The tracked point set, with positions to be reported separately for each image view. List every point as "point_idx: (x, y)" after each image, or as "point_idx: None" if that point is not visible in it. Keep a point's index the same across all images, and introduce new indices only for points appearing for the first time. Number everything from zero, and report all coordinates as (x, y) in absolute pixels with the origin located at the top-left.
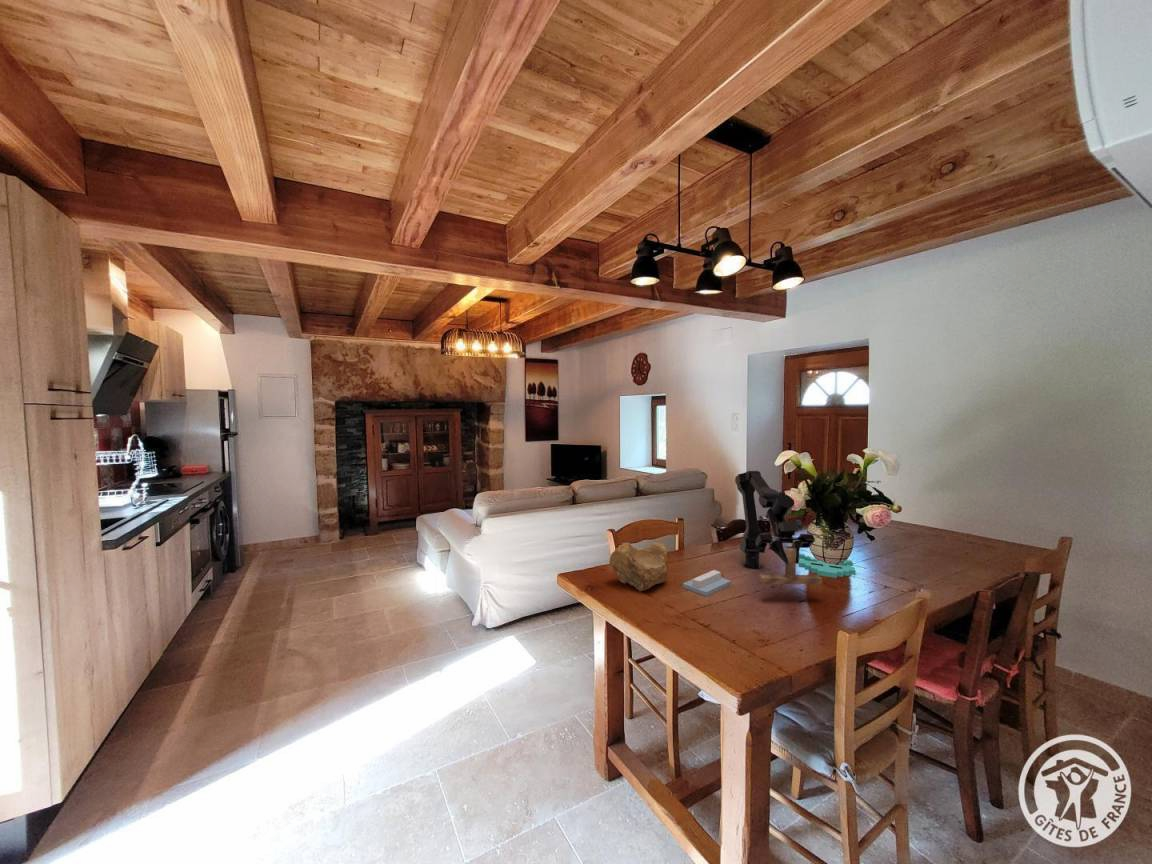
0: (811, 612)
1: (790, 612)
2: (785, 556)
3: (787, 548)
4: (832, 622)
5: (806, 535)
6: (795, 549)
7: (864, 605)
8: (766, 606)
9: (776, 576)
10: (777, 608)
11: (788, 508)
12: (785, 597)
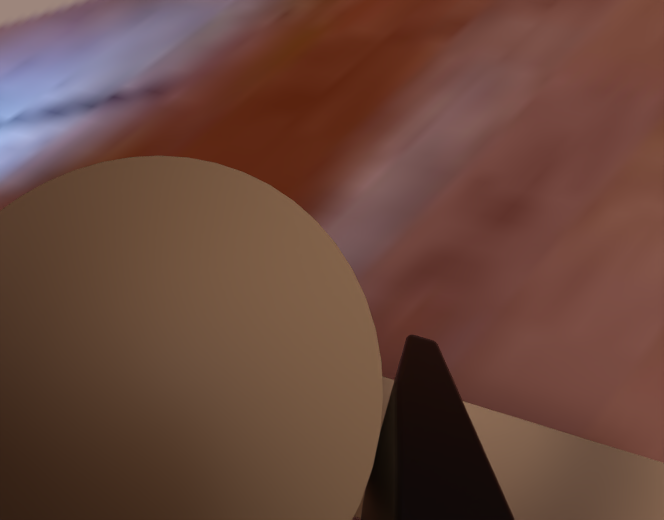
0: (329, 191)
1: (497, 232)
2: (426, 420)
3: (372, 372)
4: (308, 41)
5: None
6: (90, 175)
7: None
8: (638, 382)
9: (512, 494)
10: (560, 321)
11: None
12: None
